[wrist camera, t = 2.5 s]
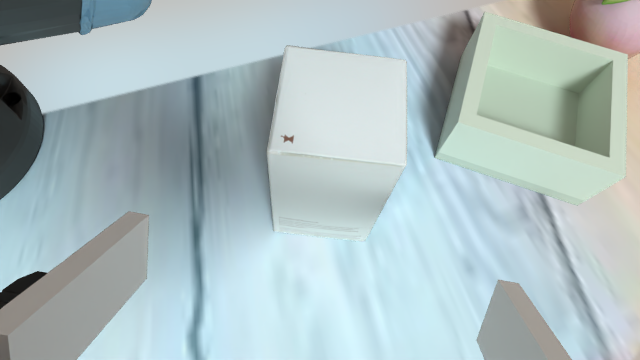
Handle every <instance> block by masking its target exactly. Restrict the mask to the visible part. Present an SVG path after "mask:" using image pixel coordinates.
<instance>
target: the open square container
mask: <svg viewBox="0 0 640 360" xmlns="http://www.w3.org/2000/svg"><path fill="white" fill-rule="evenodd" d="M627 71H628V54H625V53H621V52H618V51H615V50H611V49H608V48H605V47H601V46H598V45H595V44H591V43H588V42H585V41H581V40H578V39H575V38H571V37H568V36H565V35H561V34H558V33H555V32H551V31H548V30H545V29H541V28H538V27H534V26H531V25H528V24H524V23H521V22H518V21H514V20H511V19H508V18H504V17H501V16H498V15H494V14H491V13H488V12H484V14H483V16H482V18H481V20H480V22H479V24H478V26H477V27H476V29H475V31H474V33H473V35H472V37H471V39H470V41H469V42H468V44H467V46H466V48H465V50H464V52H463V54H462V56H461V59H460V63H459V67H458V70H457V74H456V78H455V82H454V86H453V90H452V93H451V97H450V101H449V105H448V109H447V113H446V116H445V120H444V124H443V128H442V132H441V135H440V139H439V143H438V147H437V151H436V155H435V158H437V159H440V160H443V161H446V162H449V163H452V164H455V165H458V166H461V167H464V168H467V169H470V170H473V171H476V172H479V173H481V174H484V175H487V176H490V177H493V178H496V179H499V180H502V181H505V182H508V183H511V184H514V185H517V186H520V187H523V188H526V189H529V190H532V191H535V192H538V193H541V194H544V195H547V196H550V197H553V198H556V199H559V200H562V201H565V202H568V203H571V204H574V205H577V206H578V205H579V204H581V203H583V202H584V201H586V200H588V199H589V198H591V197H593V196H594V195H596V194H598V193H599V192H601V191H603V190H605V189H606V188H608V187H610V186H611V185H613V184H615V183H616V182H618V181H620V180H621V179H623V178H625V177H626V134H627Z"/></svg>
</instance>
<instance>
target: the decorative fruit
mask: <svg viewBox="0 0 640 360" xmlns="http://www.w3.org/2000/svg"><path fill="white" fill-rule="evenodd" d="M570 34H571V38H575V39H578V40H581V41H585V42H588V43H591V44H595V45H598V46H601V47H605V48H608V49H611V50H615V51H618V52H621V53H625V54H628V59H629V58H631V57H633V56H635V55H637V54H639V53H640V0H575V2H574V4H573V7H572V11H571V15H570Z"/></svg>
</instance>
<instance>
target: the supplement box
mask: <svg viewBox="0 0 640 360" xmlns="http://www.w3.org/2000/svg"><path fill="white" fill-rule="evenodd" d="M267 162H268V173H269V185H270V196H271V207H272V218H273V231H274V232H281V233H289V234H298V235H306V236H316V237H324V238H333V239H341V240H350V241H360V242H364V241H365V240H366V239H367V237H368V235H369V233H370V232H371V230H372V228H373V226H374V224H375V222H376V220H377V218H378V217H379V215H380V213H381V211H382V209H383V207H384V205H385V203H386V202H387V200H388V198H389V196H390V194H391V192H392V190H393V188H394V187H395V185H396V183H397V181H398V179H399V177H400V176H401V174H402V172H403V170H404V168H405V167H406V164H407V62H406V60H401V59H394V58H386V57H378V56H369V55H361V54H352V53H344V52H334V51H325V50H318V49H311V48H304V47H296V46H290V45H287V46H286V47H285V50H284V55H283V61H282V67H281V72H280V78H279V84H278V89H277V94H276V99H275V107H274V113H273V119H272V124H271V130H270V135H269V141H268V146H267Z"/></svg>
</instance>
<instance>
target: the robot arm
mask: <svg viewBox="0 0 640 360" xmlns="http://www.w3.org/2000/svg"><path fill="white" fill-rule="evenodd" d="M151 1H152V0H0V45H4V44H10V43H16V42H22V41H28V40H34V39H39V38H45V37H51V36H57V35H63V34H68V33H74V32H79V33H80V34H81V35H85V34H87V33H89V32H90V31H91V30H92V29H94V28H99V27H103V26H108V25H112V24H117V23H121V22H125V21H131V20H134V19H136V18H138V17H140V16H141V15H143V14H144V13H145V11H146V10H147V9H148V7H149V6H150V4H151ZM42 134H43V118H42V113H41V110H40V107H39V105H38V103H37V101H36V99H35V98H34V96H33V95H32V94H31V93H30V92H29V91H28V89H27V88H26V87H25V86H24V85H23V84H22V83H21V82H20V81H19V80H18V78H17V77H15V75H13V74H12V73H11V72H10V71H8V70H7V69H6V68H5V67H3V66H2V65H0V199H1V198H3V197H4V196H5V195H6V194H7V193H8V192H9V191H10V190H11V189H12V188H14V186H15V185H16V184H17V183H18V182H19V181H20V180H21V179H22V177H23V176H24V175H25V173H26V172H27V171H28V169H29V168H30V166H31V164H32V163H33V161H34V159H35V157H36V155H37V153H38V150H39V147H40V144H41V140H42ZM148 229H149V215H146V214H140V213H135V212H127V213H126V214H125V215H123V216H122V217H121V218H120V219H118V220H117V221H116V222H114V223H113V224H112V225H110V226H109V227H108V228H106V229H105V230H104V231H102V232H101V233H100V234H98V235H97V236H96V237H95V238H93V239H92V240H91V241H89V242H88V243H87V244H85V245H84V246H83V247H81V248H80V249H79V250H77V251H76V252H75V253H73V254H72V255H71V256H70V257H68V258H67V259H66V260H64V261H63V262H62V263H60V264H59V265H58V266H56V267H55V268H54V269H52V270H51V271H50V272H48V273H45V272H39V271H37V272H34V273H32V274H29V275H27V276H24V277H22V278H20V279H17V280H16V281H15V282H13V283H12V284H10V285H9V286H7V287H6V288H5V289H3V290H2V292H0V360H77V359H78V357H79V356H80V355H81V354H82V353H83V352H84V350H85V349H86V348H87V347H88V346H89V345H90V344H91V342H92V341H93V340H94V339H95V338H96V337H97V335H98V334H99V333H100V332H101V331H102V330H103V328H104V327H105V326H106V325H107V324H108V323H109V322H110V320H111V319H112V318H113V317H114V316H115V315H116V313H117V312H118V311H119V310H120V309H121V308H122V307H123V305H124V304H125V303H126V302H127V301H128V300H129V298H130V297H131V296H132V295H133V294H134V293H135V292H136V290H137V289H138V288H139V287H140V286H141V285H142V283H143V282H144V281H145V280H146V279H147V259H148ZM477 342H478V345H479V347H480V350H481V352H482V354H483V357H484V359H485V360H572V359H571V358H570V356H569V355H568V353H567V352H566V350H565V349H564V348H563V346H562V345H561V343H560V342H559V340H558V339H557V338H556V336H555V335H554V333H553V332H552V330H551V329H550V328H549V326H548V325H547V323H546V322H545V320H544V319H543V317H542V316H541V315H540V313H539V312H538V310H537V309H536V307H535V306H534V305H533V303H532V302H531V300H530V299H529V297H528V296H527V295H526V293H525V292H524V290H523V289H522V287H521V286H520V285H519V283H514V282H508V281H503V280H498V281H497V284H496V287H495V290H494V293H493V295H492V298H491V301H490V304H489V307H488V309H487V312H486V315H485V318H484V320H483V323H482V326H481V329H480V332H479V334H478V337H477Z"/></svg>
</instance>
